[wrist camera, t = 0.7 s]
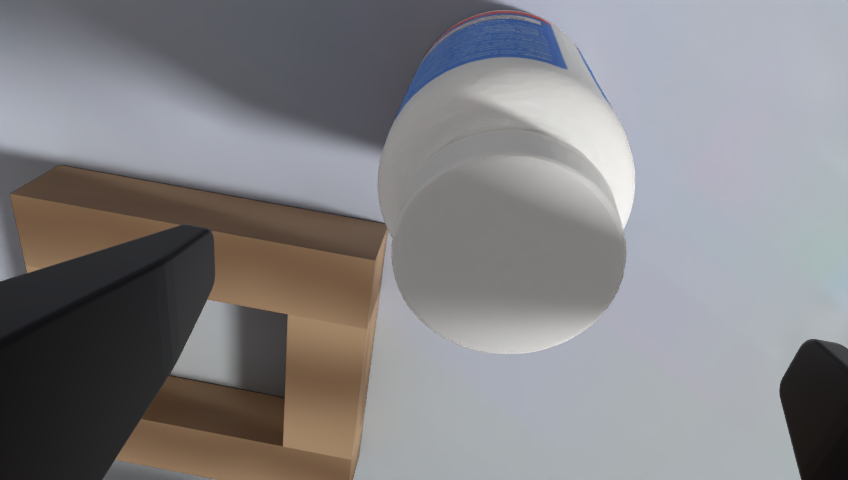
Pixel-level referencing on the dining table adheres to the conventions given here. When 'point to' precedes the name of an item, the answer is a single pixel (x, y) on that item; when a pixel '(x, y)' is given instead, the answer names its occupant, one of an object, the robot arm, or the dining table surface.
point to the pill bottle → (506, 187)
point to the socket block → (246, 286)
